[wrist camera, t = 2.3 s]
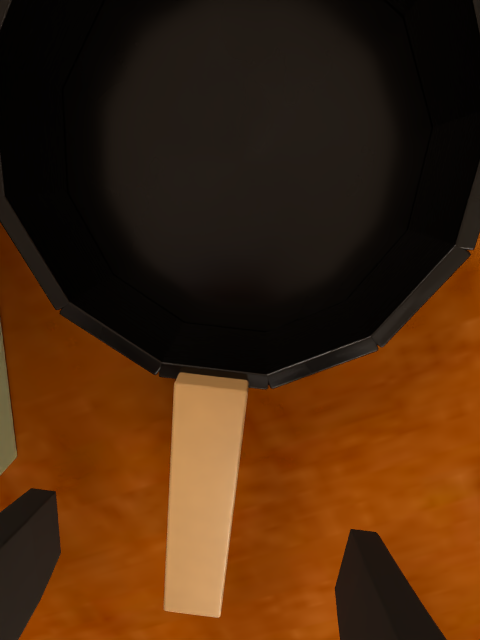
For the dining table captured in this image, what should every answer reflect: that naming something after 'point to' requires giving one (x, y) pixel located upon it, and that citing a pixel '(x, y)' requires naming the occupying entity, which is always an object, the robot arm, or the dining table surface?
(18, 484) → the dining table surface
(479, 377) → the dining table surface
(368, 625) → the robot arm
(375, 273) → the pan
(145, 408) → the dining table surface
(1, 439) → the shelf
